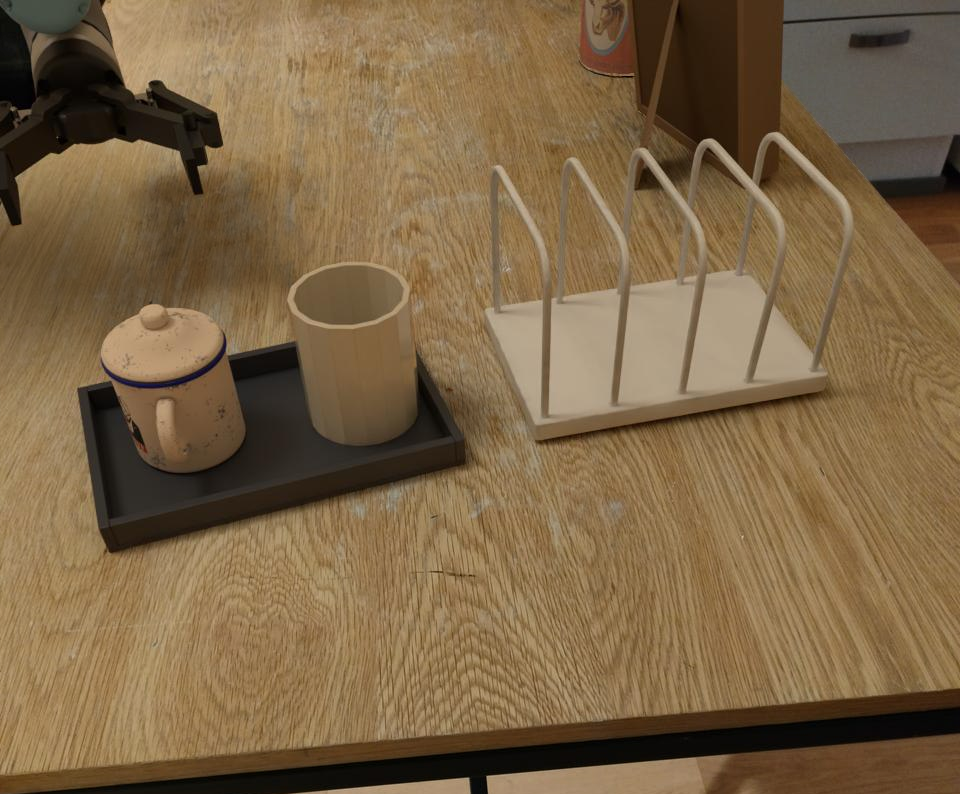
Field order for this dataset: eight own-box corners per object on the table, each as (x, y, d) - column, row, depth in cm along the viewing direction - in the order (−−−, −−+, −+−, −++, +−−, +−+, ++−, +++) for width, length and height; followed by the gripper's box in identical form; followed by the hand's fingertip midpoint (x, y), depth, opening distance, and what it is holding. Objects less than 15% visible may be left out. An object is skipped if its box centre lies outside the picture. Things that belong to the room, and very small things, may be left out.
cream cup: (325, 460, 76) (303, 339, 68) (299, 395, 81) (276, 275, 73) (433, 434, 78) (425, 313, 69) (401, 372, 83) (389, 252, 75)
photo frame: (667, 104, 116) (700, -159, 97) (776, 180, 104) (839, -105, 84) (559, 129, 113) (571, -139, 93) (659, 211, 100) (697, -80, 81)
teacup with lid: (139, 410, 80) (93, 281, 71) (250, 399, 80) (218, 270, 71) (127, 509, 72) (73, 379, 63) (248, 496, 73) (213, 365, 64)
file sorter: (741, 286, 91) (778, 111, 79) (824, 396, 80) (882, 214, 68) (483, 324, 87) (481, 149, 75) (534, 445, 77) (540, 262, 65)
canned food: (561, 64, 125) (566, -46, 115) (608, 36, 130) (616, -70, 121) (636, 84, 120) (647, -28, 111) (681, 55, 126) (696, -54, 116)
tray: (108, 552, 70) (98, 529, 68) (86, 411, 81) (76, 387, 79) (466, 463, 76) (465, 439, 74) (401, 342, 86) (399, 318, 84)
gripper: (229, 107, 90) (276, 212, 78) (-51, 150, 85) (-50, 269, 73) (211, 17, 85) (258, 114, 72) (-90, 57, 80) (-96, 169, 67)
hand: (104, 192), depth 72 cm, fingers open, 13 cm apart
